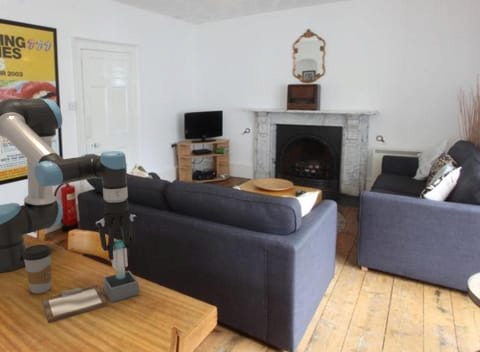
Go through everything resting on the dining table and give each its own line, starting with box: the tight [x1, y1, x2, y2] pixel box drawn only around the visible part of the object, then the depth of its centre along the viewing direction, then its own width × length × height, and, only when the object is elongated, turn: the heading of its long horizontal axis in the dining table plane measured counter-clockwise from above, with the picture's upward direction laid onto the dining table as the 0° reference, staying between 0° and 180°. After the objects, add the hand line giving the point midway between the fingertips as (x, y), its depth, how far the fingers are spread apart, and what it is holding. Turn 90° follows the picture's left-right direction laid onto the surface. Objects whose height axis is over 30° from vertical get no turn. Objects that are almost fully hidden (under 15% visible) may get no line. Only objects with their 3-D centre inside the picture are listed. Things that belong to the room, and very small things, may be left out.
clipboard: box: [42, 284, 108, 324], centre depth 117 cm, size 13×17×2 cm
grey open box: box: [102, 270, 140, 304], centre depth 124 cm, size 9×9×5 cm
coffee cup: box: [23, 244, 52, 295], centre depth 124 cm, size 8×8×15 cm
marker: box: [113, 239, 126, 280], centre depth 122 cm, size 3×3×13 cm
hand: (119, 266), depth 123 cm, fingers closed on marker, 3 cm apart
